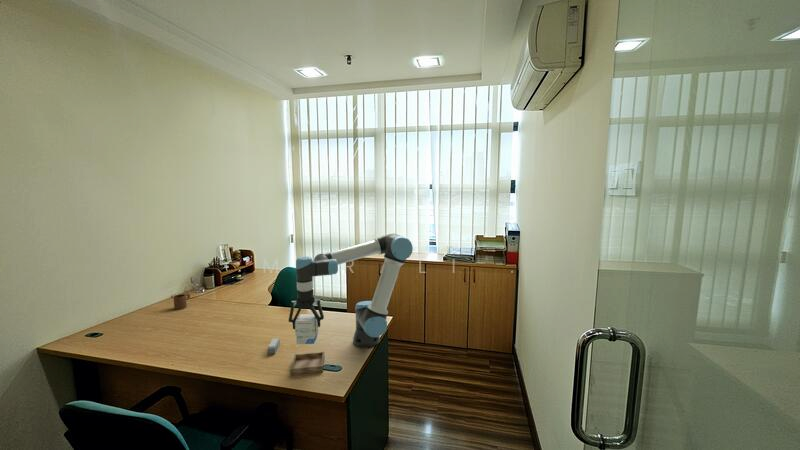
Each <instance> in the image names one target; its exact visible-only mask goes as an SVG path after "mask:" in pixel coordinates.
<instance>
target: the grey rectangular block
mask: <svg viewBox="0 0 800 450" xmlns="http://www.w3.org/2000/svg"><path fill="white" fill-rule="evenodd" d="M280 346H281V345H280V339H279V338H278V337H277V338H276V337H273V338H272V339H271V341H270V343H269V344H268V347H267V354H268V355H274V354H275V355H276V353H277V351H278V349H279V347H280Z"/></svg>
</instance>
